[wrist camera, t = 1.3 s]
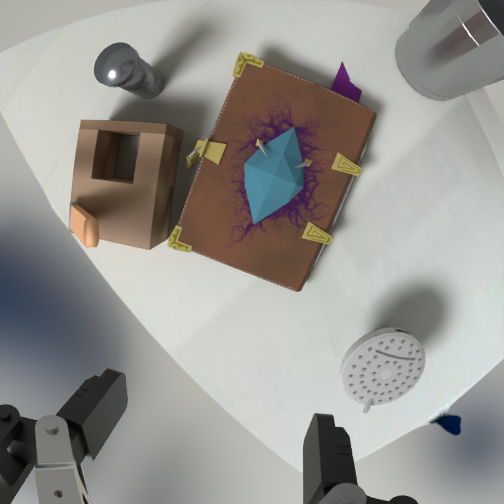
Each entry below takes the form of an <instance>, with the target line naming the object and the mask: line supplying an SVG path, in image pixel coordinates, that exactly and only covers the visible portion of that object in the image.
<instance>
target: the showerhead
mask: <svg viewBox="0 0 504 504" xmlns="http://www.w3.org/2000/svg"><path fill="white" fill-rule="evenodd" d="M424 366H425V352H424V349H423V347H422V345H421V344H420V342H419V341H418V340H417V339H416V337H415V336H414V335H413V334H411V333H410V332H408V331H406V330H404V329H401V328H394V327H389V328H382V329H378V330H375V331H372V332H370V333H368V334H366V335H364V336H363V337H361V338H360V339H359V340H357V341H356V342H355V343H354V344H353V345H352V346H351V347H350V348H349V350H348V351H347V352H346V354H345V356H344V358H343V360H342V363H341V367H340V377H341V383H342V387H343V390H344V392H345V393H346V394H347V396H348V397H349V398H351V399H352V400H354V401H355V402H357V403H360V404H364V405H365V407H364V410H363V412H364V413H368V411H369V409H370V406H371V405H382V404H386V403H389V402H392V401H394V400H396V399H398V398H400V397H402V396H403V395H405V394H406V393H407V392H408V391H410V390H411V389H412V388H413V387H414V385H415V384H416V383H417V382H418V380H419V378H420V377H421V375H422V373H423V370H424Z"/></svg>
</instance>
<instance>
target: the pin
mask: <svg viewBox="0 0 504 504" xmlns="http://www.w3.org/2000/svg"><path fill="white" fill-rule="evenodd" d="M94 74H95V77H96V79H97V80H98V81H99V82H100V83H102V84H104V85H107V86H109V87H120V88H122V89H124V90H127V91H129V92H131V93H133V94H135V95H137V96H139V97H141V98H144V99H152V98H154V97H156V96H158V95H159V94H160V93H161V91H162V90H163V88H164V84H165V80H164V77H163V75H162V74H161V73H160V72H159V71H157V70H156V69H155V68H153V67H152V66H151V65H149V64H148V63H147V62H145V61H144V60H142V59H141V58H140V57H139V54H138V52H137V51H136V50H135V49H134V48H132V47H131V46H130V45H128V44H126V43H122V42H120V43H114V44H112V45H110V46H108V47H107V48H105V49H104V50H103V51H102V52H101V53H100V55H99V56H98V58H97V60H96V62H95V66H94Z"/></svg>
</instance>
